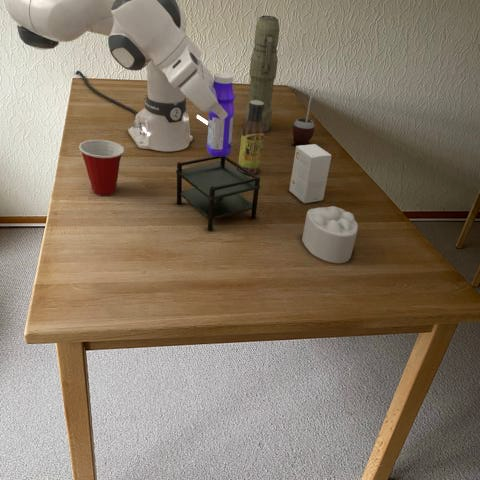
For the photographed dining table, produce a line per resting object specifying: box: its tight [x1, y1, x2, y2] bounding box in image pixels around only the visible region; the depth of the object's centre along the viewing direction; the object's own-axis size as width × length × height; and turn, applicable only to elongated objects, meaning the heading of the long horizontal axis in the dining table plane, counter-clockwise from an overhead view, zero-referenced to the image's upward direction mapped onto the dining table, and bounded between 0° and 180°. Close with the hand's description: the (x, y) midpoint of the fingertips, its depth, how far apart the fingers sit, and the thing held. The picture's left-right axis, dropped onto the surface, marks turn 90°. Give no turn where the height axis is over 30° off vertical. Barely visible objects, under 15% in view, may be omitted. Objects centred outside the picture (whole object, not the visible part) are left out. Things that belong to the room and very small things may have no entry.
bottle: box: [206, 72, 236, 157], centre depth 115 cm, size 7×6×17 cm
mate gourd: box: [292, 93, 315, 147], centre depth 167 cm, size 8×8×15 cm
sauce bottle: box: [237, 100, 265, 175], centre depth 145 cm, size 6×6×20 cm
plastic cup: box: [78, 139, 125, 196], centre depth 130 cm, size 11×11×12 cm
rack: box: [175, 156, 261, 232], centre depth 126 cm, size 16×14×11 cm
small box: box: [288, 143, 333, 204], centre depth 137 cm, size 8×6×13 cm
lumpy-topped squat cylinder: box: [301, 205, 359, 264], centre depth 117 cm, size 10×13×9 cm
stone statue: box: [244, 15, 280, 133], centre depth 169 cm, size 9×12×35 cm
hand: (223, 110), depth 114 cm, fingers closed on bottle, 7 cm apart
